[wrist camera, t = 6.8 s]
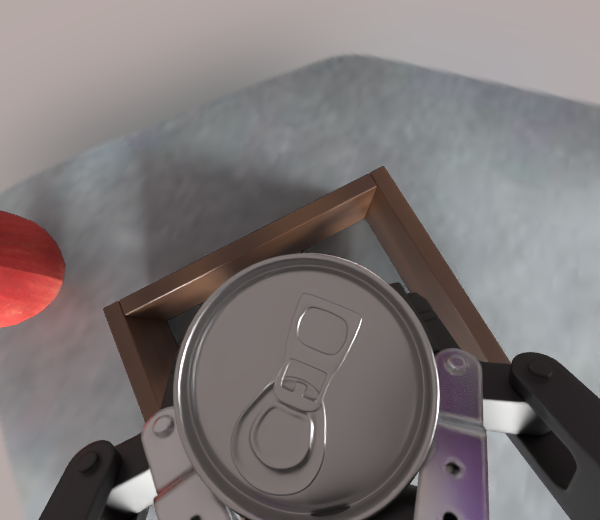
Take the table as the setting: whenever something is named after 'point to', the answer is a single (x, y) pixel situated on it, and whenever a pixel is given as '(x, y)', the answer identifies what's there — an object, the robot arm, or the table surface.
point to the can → (306, 390)
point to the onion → (27, 269)
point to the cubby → (291, 240)
